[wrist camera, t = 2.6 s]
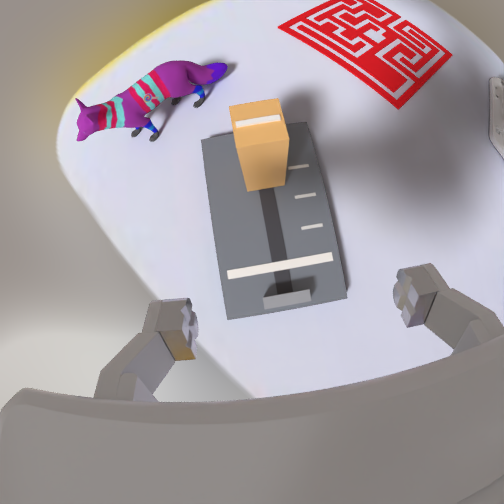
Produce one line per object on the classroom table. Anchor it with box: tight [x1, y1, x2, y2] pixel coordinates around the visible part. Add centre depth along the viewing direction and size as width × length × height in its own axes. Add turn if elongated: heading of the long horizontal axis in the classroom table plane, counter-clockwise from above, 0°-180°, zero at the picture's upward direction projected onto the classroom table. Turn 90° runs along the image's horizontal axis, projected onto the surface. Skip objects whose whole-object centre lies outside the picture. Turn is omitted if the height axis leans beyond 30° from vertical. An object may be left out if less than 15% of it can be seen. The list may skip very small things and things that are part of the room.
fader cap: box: [229, 98, 289, 192], centre depth 23 cm, size 4×4×9 cm
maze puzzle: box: [278, 0, 452, 110], centre depth 31 cm, size 20×20×1 cm
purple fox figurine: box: [75, 61, 228, 141], centre depth 26 cm, size 4×18×10 cm, turn 130°
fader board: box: [201, 122, 347, 320], centre depth 27 cm, size 18×11×3 cm, turn 10°
